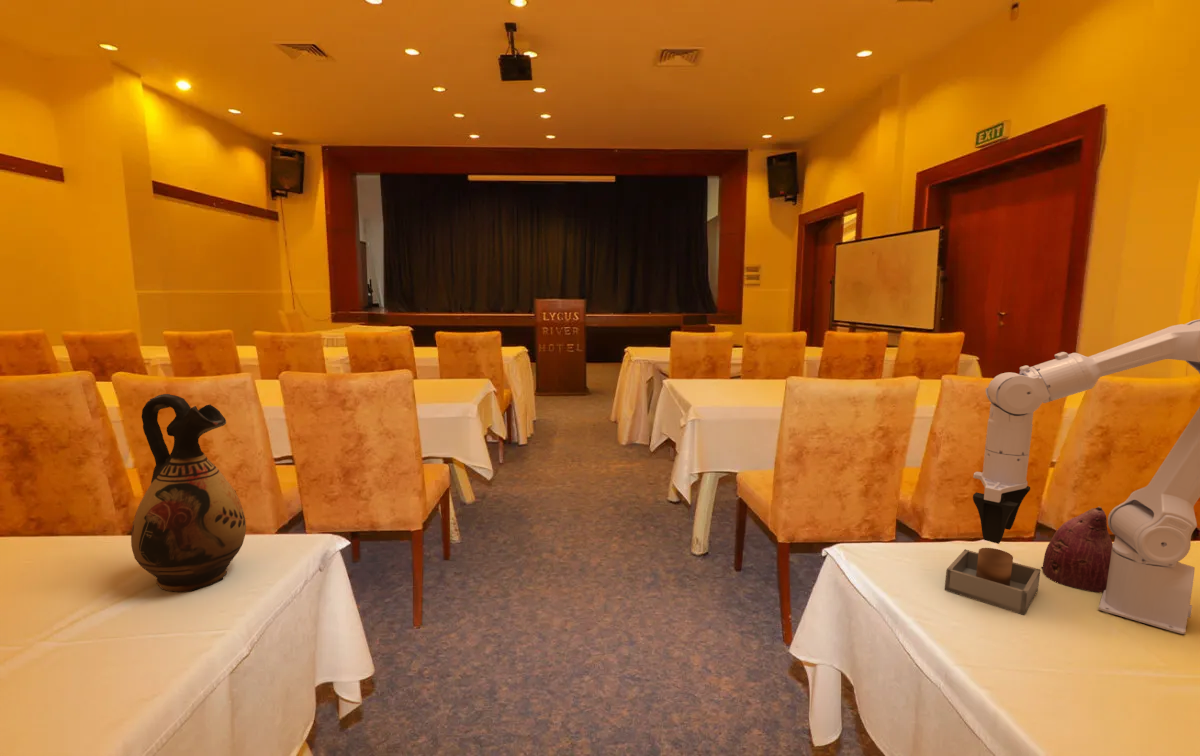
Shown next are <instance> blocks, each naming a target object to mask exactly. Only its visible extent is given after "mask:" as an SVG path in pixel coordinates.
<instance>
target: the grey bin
mask: <svg viewBox="0 0 1200 756" xmlns="http://www.w3.org/2000/svg"><path fill="white" fill-rule="evenodd" d="M978 554H979V552H977V551H973V550H969V549H964V550H962V552H961V553H960V554H959V555H958V556H957V557H956V558H955V559H954V561H952V563H951V564H950V565H949V566H948V567H947V568H946V571H945V580H944V581H945V582H944V591H947V592H950V593H953V594H956V595H960V596H962V597H965V598H968V599H973V600H976V601H979V602H981V603H985V604H987V605H991V606H994V607H998V608H1001V609H1003V610H1007V611H1011V612H1013V613H1015V614H1016V613H1017V614H1019V615H1023V616H1025V615H1026V614H1027V611H1028V609H1029V607H1030V605H1031V604H1032V602H1033V601H1034V598H1035V597H1034V596H1036V595H1035V594H1037V593H1038V591H1039V586H1040V585H1039V584H1040V576H1041V569H1040V568H1036V567H1032V566H1030V565H1029V566H1028V565H1025V564H1021V563H1018V562H1014V561H1013V563H1012V572H1011V580H1010V586H1007V585H1004V584H1000V583H997V582H993V581H990V580H987V579H983V578H980V577H976V572H977V563H978ZM1036 592H1037V593H1036Z"/></svg>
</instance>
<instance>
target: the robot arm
mask: <svg viewBox="0 0 1200 756" xmlns="http://www.w3.org/2000/svg"><path fill="white" fill-rule="evenodd" d="M1164 360H1175V361H1185V362H1186V363H1187V364H1189V365H1190V366H1192V367H1193V368H1194V369H1195V370H1196V372H1198V373H1199V374H1200V318H1199V319H1194V320H1191V321H1189V322H1186V323H1184V324H1183V323H1181V324H1180V323H1179V324H1175V325H1170V326H1168V327H1166V328H1163V329H1160V330H1157V331H1154V332H1152V333H1149V334H1146V335H1144V336H1141V337H1139V338H1135V339H1134V340H1133V339H1132V340H1131V341H1128V342H1125V343H1122V344H1119V345H1117V346H1114V347H1111V348H1108V349H1105V350H1104V351H1099V352H1098V353H1095V354H1092V355H1089V356H1085V355H1083V354H1081V353H1078V352H1072V353H1068V352H1065V351H1060V352H1058V353H1055V354H1054V358H1053V359H1051V360H1047V361H1044V362H1041V363H1038V364H1035V365H1033V366H1029V365H1023V366H1020V367H1019V373H1016V372H1012V371H1011V372H1009V371H1008V372H1004V373H1002V372H1001V373H1000V374H997V375H996V376H994V377H993V379H992V380H990V382H989V384H988V387H986V388H985V395H986V397H987V399H988V401H989V402H990V404H989V416H988V419H987V427H986V436H985V445H984V446H985V447H984V454H983V455H984V458H983V466H982V472H981V471H975V472H974V473H973V476H972V477H973V479H975V480H977V479H978V480H980V481H981V483H982V485H983V487H984V493H980V492H977V491H976V492H975V493H974V494H972V500H973V503H974V505H975V507H976V510H977V511H978V515H979V520H980V525H981V532H982V533H981V534H982V537H983V538H982V539H983V541H986V542H990V543H994V544H1000V543H1001V541H1002V540H1003V536H1004V533H1005V532H1006V531H1005V530H1009V531H1010V530H1011V529H1012V527H1013V525H1014V523H1015V521H1016V517H1017V515H1018V511H1019V509H1020V506H1021V504H1022V502H1023V501H1024V499H1025V497H1026V496H1027V494H1028V493H1029V492H1030V491H1031V487H1030V486H1029V485H1028V482H1029V481H1027V477H1028V467H1029V459H1030V458H1029V457H1030V452H1031V451H1030V450H1031V449H1030V448H1031V441H1032V432H1033V426H1034V425H1033V420H1034V418H1033V417H1034V412H1036V411H1037V410H1038V409H1039V408H1040V407H1041V405H1042V404H1047V403H1049V402H1050V403H1051V402H1054V401H1056V400H1059V399H1062V398H1066V397H1068V396H1071V395H1075V394H1076V395H1077V394H1078V393H1082V392H1085V391H1088V390H1092V389H1093V388H1094V387H1095V386H1096V384H1097V382H1098V381H1099V379H1100V378H1101V377H1104V376H1108V375H1112V374H1115V373H1120V372H1123V371H1127V370H1130V369H1135V368H1138V367H1141V366H1145V365H1148V364H1153V363H1156V362H1159V361H1164ZM1199 499H1200V406H1198V408H1197V410H1196V411H1195V413H1194V415H1193V416H1192V418H1191V419H1190V420H1189V422H1188V424H1187V426H1186V427H1185V428H1184V430H1183V431H1182V432H1181V434H1180V436H1179V437H1178V439H1177V440H1176V442H1175V443H1174V445H1173V447H1172V448H1171V450H1170V451H1169V453H1167V456H1166V457H1165V458H1164V460H1163V462H1162V463H1161V464H1160V466H1159V467H1158V469H1157V470H1156V472H1155V474H1154V475H1153V477H1152V478H1151V480H1150V481H1149V482H1148V484H1147V485H1146V486H1144V487H1141V488H1139V489H1136V490H1134V491H1132V492H1131V493H1130V495H1129V496H1128V497H1127V498H1126V500H1125V501H1123V502H1121V503H1120V504H1118V505H1116V506H1115V507H1113V508H1112V510H1111V511H1110V512H1109V514H1108V516H1107V527H1108V528H1109V531H1110V532H1111V533H1112V534H1113V535H1114V541H1113V542H1112V543H1113V544H1112V551H1111V558H1110V565H1109V572H1108V579H1107V587H1106V590H1104V592H1102V596H1101V598H1100V601H1099V604H1098V610H1099V611H1101V612H1104V613H1109V614H1111V615H1115V616H1119V617H1123V618H1125V619H1128V620H1132V621H1136V622H1138V623H1143V624H1146V625H1149V626H1153V627H1156V628H1159V629H1162V630H1166V631H1170V632H1173V633H1178V634H1181V635H1185V634H1186V629H1187V625H1188V618H1189V619H1190V618H1191V615H1192V611H1193V609H1192V608H1193V605H1192V604H1191V599H1192V598H1191V597H1192V593H1193V587H1194V586H1193V585H1194V581H1195V567H1194V566H1191V565H1188V564H1185V563H1183V562H1180V561H1182V560H1183V559H1185V558H1186V557H1187V555H1188V554H1189V552H1190V550H1191V543H1192V542H1191V541H1192V540H1191V539H1192V534H1193V533H1194V531H1195V530H1196V528H1197V527H1198V523H1197V518H1196V514H1195V513H1196V512H1195V508H1194V506H1195V505H1196V503H1197V501H1199Z"/></svg>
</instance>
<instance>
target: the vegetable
mask: <svg viewBox="0 0 1200 756" xmlns="http://www.w3.org/2000/svg"><path fill="white" fill-rule="evenodd" d="M1108 530H1109V529H1108V517H1107V515H1106V513H1105V511H1104V509H1103V508H1102V507H1101V506H1097V507H1095V508H1094V507H1093V508H1090V509H1088V510H1087V511H1085V512H1084V513H1081V514H1079V515H1078V516H1075V517H1072V518H1071V519H1068V520H1067V521H1066V522H1064V523H1063V524H1061V526H1059V528H1058V529H1056V531H1055V532H1054V533H1053V536H1052V538H1051V539H1050V541H1049V543H1048V545H1047V546H1046V549H1045V552H1044V557H1043V561H1042V566H1041V569H1042V568H1043V569H1042V573H1043V575H1044V576H1045V575H1046V577H1047V578H1048V579H1049V578H1050V580H1051V579H1052V580H1051V581H1053V582H1055V581H1056V582H1055V583H1057V582H1058V584H1061V585H1062V584H1063V586H1067V587H1070V588H1075V589H1079V590H1084V591H1088V592H1092V591H1093V592H1094V593H1099V592H1102V593H1103V592H1104V590H1106V587H1107V579H1108V572H1109V565H1110V558H1111V551H1112V544H1113V543H1114V542H1113V541H1112V539H1111V536H1110V533H1109V531H1108Z"/></svg>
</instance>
